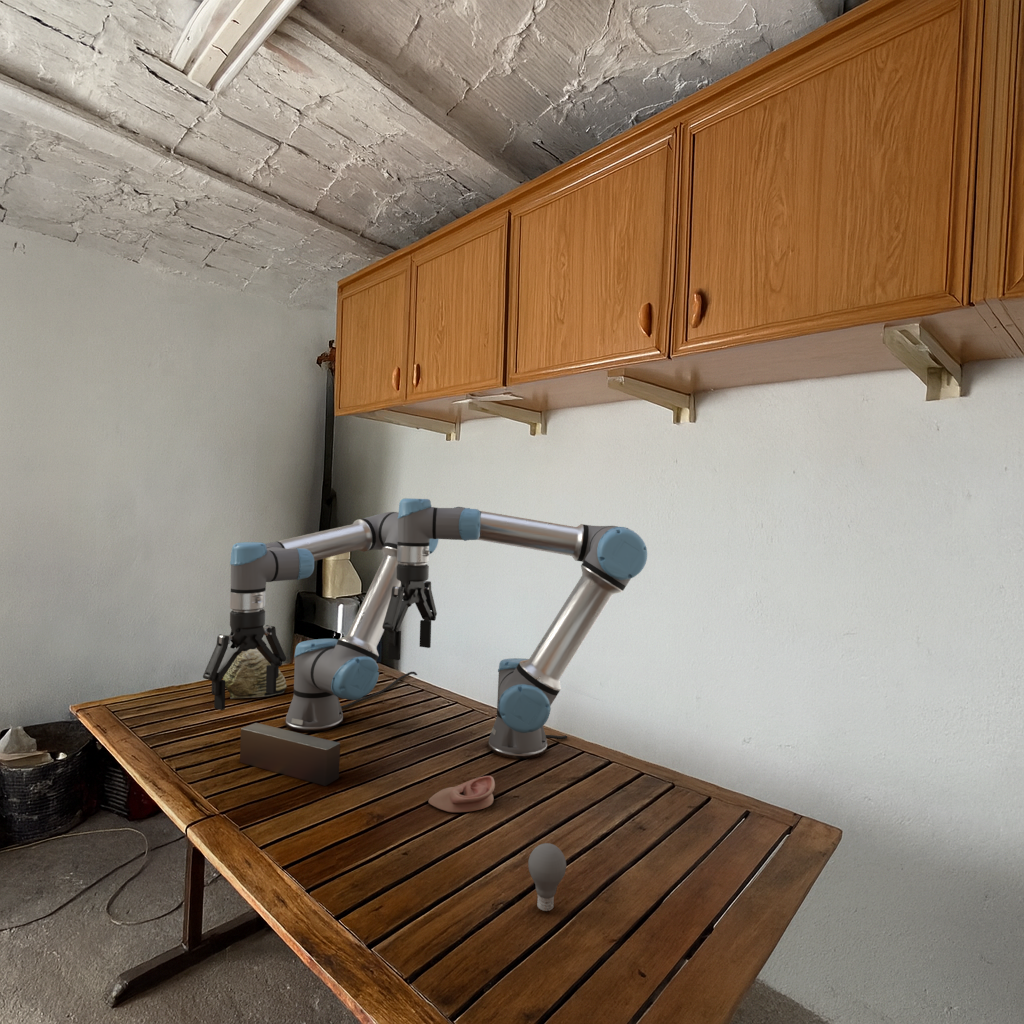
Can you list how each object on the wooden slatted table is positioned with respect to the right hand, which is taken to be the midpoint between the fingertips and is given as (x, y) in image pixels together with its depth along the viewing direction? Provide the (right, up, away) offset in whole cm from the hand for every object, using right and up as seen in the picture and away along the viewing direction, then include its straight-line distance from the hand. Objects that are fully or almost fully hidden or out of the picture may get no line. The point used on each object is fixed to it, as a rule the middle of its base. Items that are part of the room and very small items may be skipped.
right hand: (410, 653), depth 150 cm
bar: (-27, -26, -4) cm, 38 cm away
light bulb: (+29, -29, -50) cm, 65 cm away
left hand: (-37, -10, -3) cm, 39 cm away
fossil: (-56, -24, +48) cm, 78 cm away
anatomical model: (+14, -28, -16) cm, 35 cm away
